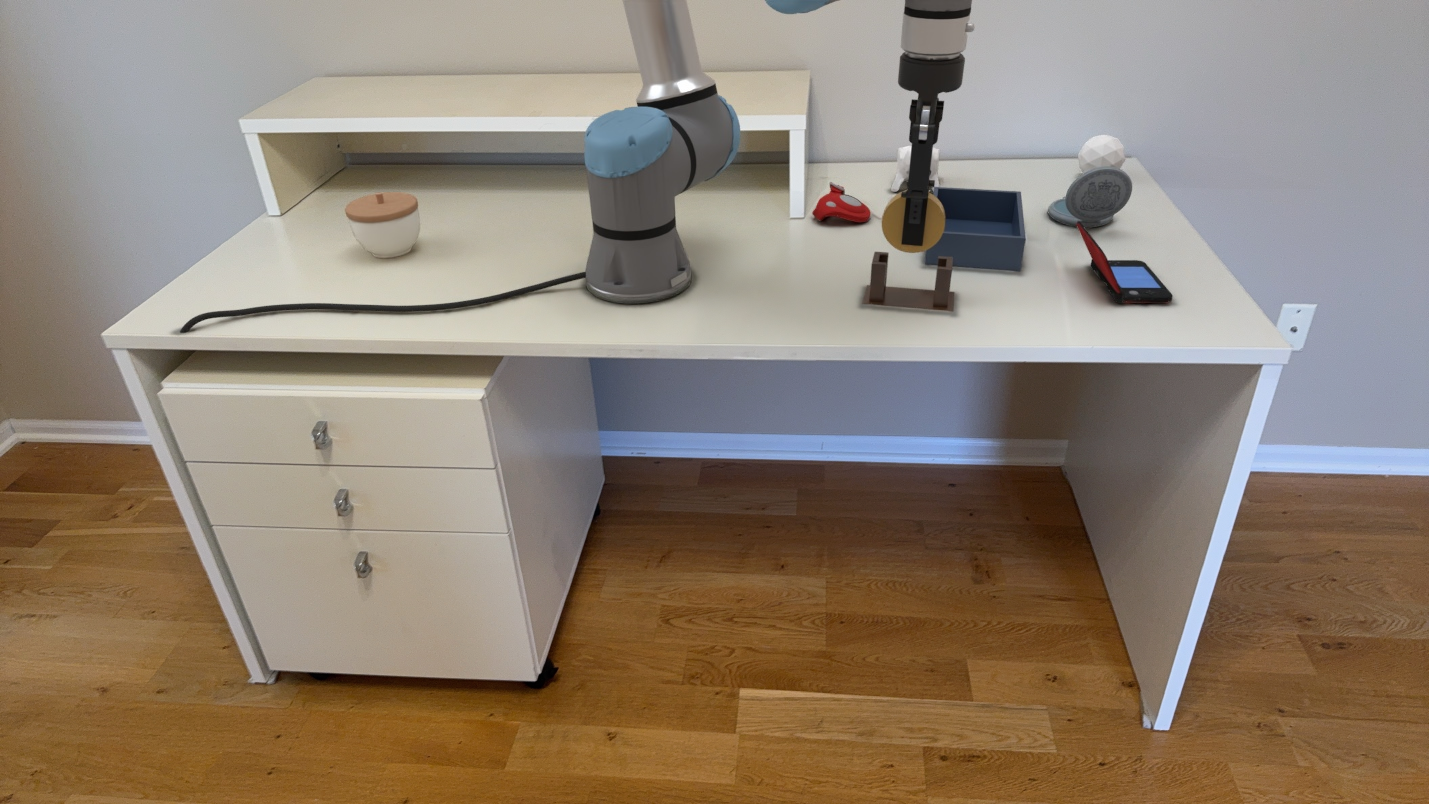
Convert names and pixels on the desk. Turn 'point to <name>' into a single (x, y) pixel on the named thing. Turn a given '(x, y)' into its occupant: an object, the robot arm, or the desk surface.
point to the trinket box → (385, 223)
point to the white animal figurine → (904, 166)
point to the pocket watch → (1093, 198)
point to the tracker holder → (841, 206)
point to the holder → (907, 296)
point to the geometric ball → (1101, 153)
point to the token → (895, 220)
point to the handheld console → (1125, 276)
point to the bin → (980, 229)
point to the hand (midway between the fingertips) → (912, 239)
